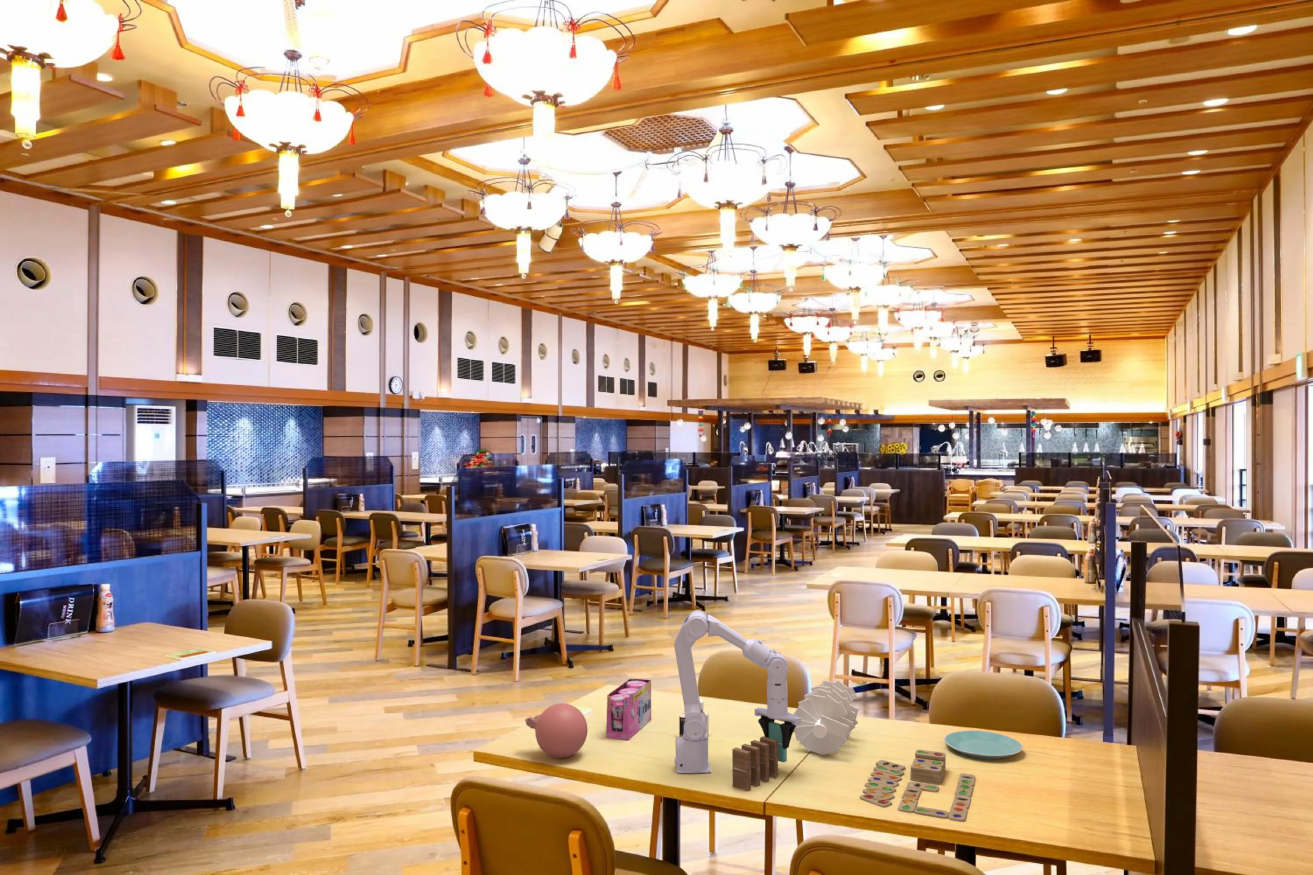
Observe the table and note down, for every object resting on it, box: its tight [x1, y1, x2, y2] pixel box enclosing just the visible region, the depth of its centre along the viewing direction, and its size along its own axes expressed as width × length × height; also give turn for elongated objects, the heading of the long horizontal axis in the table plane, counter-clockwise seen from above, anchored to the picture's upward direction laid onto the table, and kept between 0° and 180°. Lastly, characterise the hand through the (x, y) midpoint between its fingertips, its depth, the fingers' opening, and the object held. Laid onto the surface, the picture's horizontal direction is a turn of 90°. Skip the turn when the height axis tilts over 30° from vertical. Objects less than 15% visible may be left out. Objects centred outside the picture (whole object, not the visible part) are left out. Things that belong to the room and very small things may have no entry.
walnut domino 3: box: [750, 739, 770, 783], centre depth 237 cm, size 2×5×10 cm, turn 47°
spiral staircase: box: [793, 679, 859, 757], centre depth 265 cm, size 18×18×25 cm
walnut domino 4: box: [759, 736, 779, 779], centre depth 240 cm, size 2×5×10 cm, turn 48°
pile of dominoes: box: [859, 749, 976, 823], centre depth 230 cm, size 35×27×6 cm
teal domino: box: [769, 721, 788, 763], centre depth 243 cm, size 2×5×10 cm, turn 48°
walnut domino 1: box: [731, 747, 752, 792], centre depth 231 cm, size 2×5×10 cm, turn 48°
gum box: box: [605, 677, 652, 741], centre depth 281 cm, size 24×8×14 cm, turn 162°
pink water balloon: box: [524, 702, 589, 759], centre depth 256 cm, size 15×20×15 cm
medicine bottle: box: [678, 697, 710, 737], centre depth 273 cm, size 7×7×12 cm
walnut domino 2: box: [741, 743, 761, 787], centre depth 234 cm, size 2×5×10 cm, turn 47°
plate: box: [943, 729, 1023, 760], centre depth 260 cm, size 22×22×3 cm
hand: (777, 745), depth 243 cm, fingers closed on teal domino, 5 cm apart
